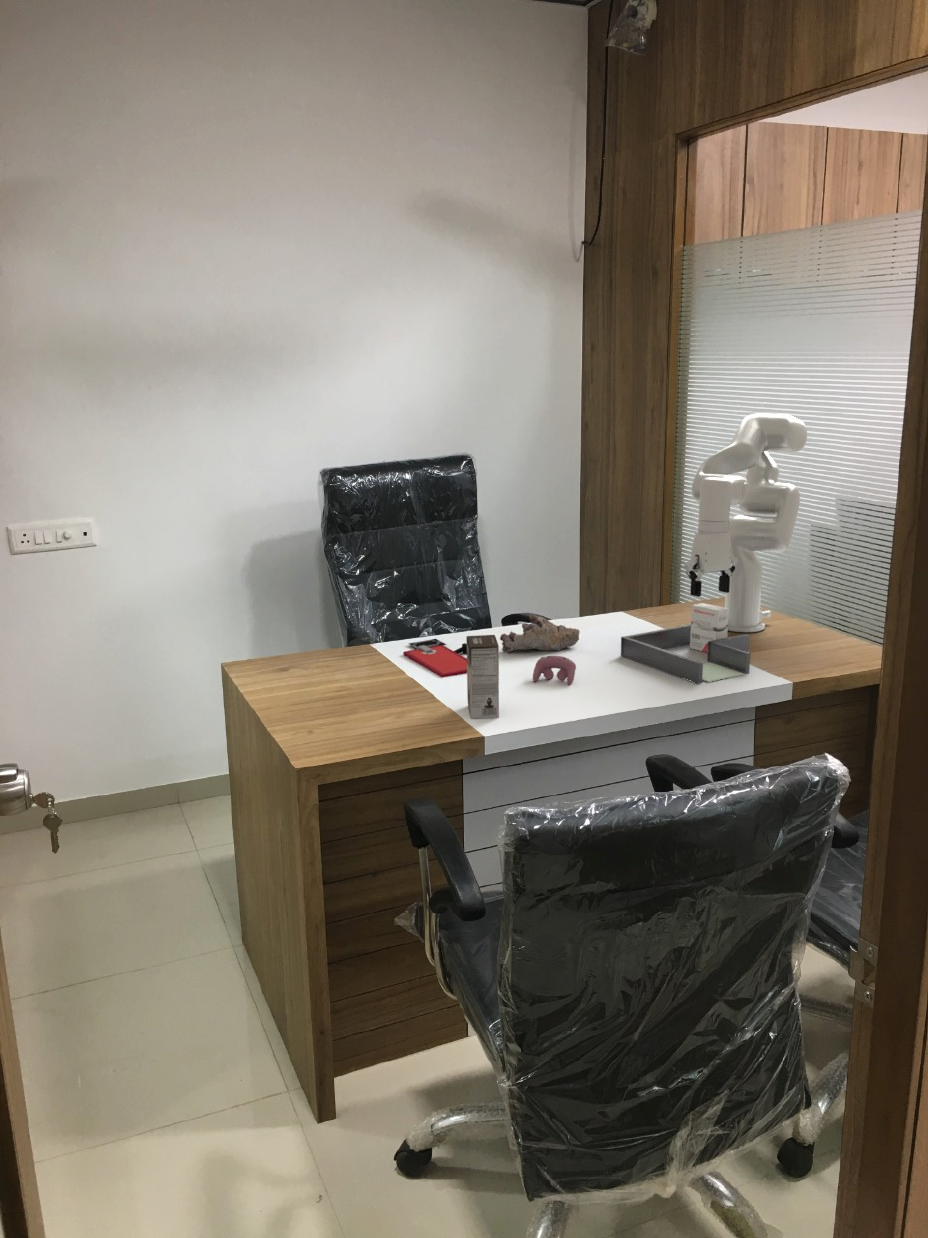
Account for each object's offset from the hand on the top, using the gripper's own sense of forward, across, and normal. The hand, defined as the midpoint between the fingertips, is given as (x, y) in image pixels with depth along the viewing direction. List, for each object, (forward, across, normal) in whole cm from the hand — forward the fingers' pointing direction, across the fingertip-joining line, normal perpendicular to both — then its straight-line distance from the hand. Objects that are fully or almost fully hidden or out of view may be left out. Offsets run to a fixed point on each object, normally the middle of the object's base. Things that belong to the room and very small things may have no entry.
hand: (709, 593), depth 257 cm
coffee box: (+17, +73, +8) cm, 75 cm away
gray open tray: (+15, +7, +6) cm, 18 cm away
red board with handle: (+17, +60, -33) cm, 71 cm away
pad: (+16, +13, +14) cm, 25 cm away
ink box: (+15, -1, 0) cm, 15 cm away
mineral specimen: (+16, +35, -25) cm, 46 cm away
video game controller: (+16, +47, -1) cm, 50 cm away
